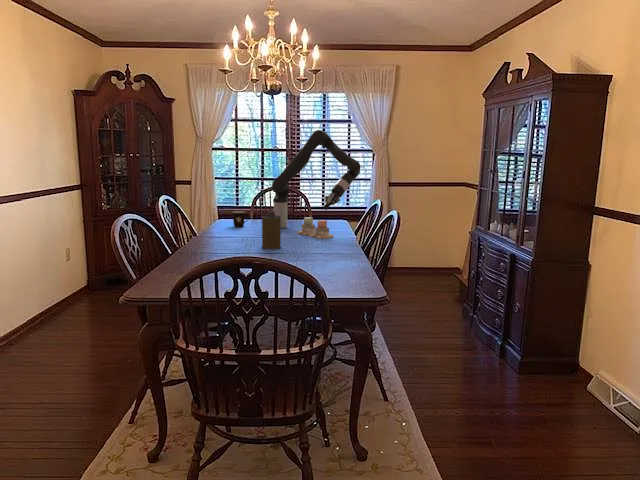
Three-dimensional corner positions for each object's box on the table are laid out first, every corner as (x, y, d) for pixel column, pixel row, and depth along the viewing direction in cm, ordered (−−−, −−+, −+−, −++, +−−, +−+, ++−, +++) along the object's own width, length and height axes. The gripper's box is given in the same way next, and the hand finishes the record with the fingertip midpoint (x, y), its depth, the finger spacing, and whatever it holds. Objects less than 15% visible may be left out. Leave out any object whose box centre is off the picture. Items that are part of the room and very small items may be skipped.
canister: (283, 248, 285) (283, 212, 281) (264, 250, 281) (264, 213, 277) (277, 245, 294) (277, 210, 291) (259, 246, 291) (259, 210, 287)
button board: (297, 233, 333) (297, 224, 332) (309, 231, 339) (309, 222, 338) (320, 239, 314) (320, 229, 313) (333, 237, 321) (333, 227, 320)
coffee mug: (230, 227, 353) (230, 212, 351) (235, 225, 361) (235, 211, 359) (246, 228, 350) (245, 213, 348) (251, 226, 358) (251, 211, 356)
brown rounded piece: (315, 231, 321) (315, 220, 320) (322, 230, 325) (322, 219, 323) (321, 232, 317) (321, 221, 316) (328, 231, 320) (328, 220, 319)
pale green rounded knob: (302, 228, 332) (302, 217, 331) (309, 227, 335) (309, 217, 334) (307, 229, 328) (307, 218, 326) (314, 228, 331) (314, 218, 330)
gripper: (330, 183, 327) (314, 203, 322) (344, 184, 317) (328, 205, 312) (336, 191, 332) (321, 211, 326) (350, 192, 321) (334, 214, 316)
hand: (324, 208), depth 319 cm, fingers closed
